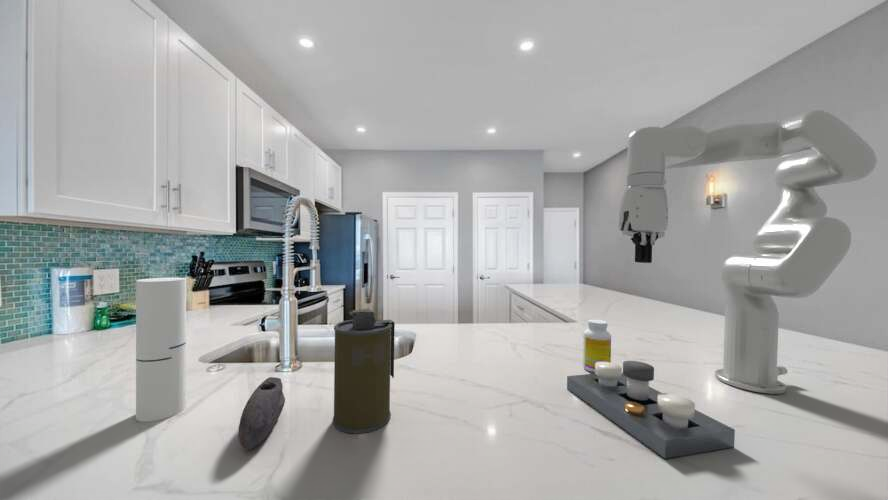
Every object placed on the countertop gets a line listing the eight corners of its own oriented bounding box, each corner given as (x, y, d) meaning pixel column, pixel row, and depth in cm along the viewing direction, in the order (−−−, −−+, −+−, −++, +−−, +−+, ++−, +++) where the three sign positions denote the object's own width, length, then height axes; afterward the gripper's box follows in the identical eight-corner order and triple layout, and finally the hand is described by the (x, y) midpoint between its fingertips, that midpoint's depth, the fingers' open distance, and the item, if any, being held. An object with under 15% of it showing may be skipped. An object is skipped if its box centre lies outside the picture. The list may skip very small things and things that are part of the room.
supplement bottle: (613, 375, 83) (615, 325, 83) (585, 373, 84) (587, 323, 84) (606, 366, 90) (607, 319, 89) (580, 364, 91) (581, 317, 91)
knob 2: (673, 424, 60) (673, 391, 59) (701, 441, 54) (702, 405, 54) (649, 427, 58) (650, 394, 58) (676, 445, 53) (677, 408, 53)
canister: (338, 440, 54) (339, 319, 54) (328, 411, 63) (329, 307, 63) (400, 424, 59) (402, 313, 59) (383, 399, 68) (384, 303, 68)
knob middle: (637, 389, 67) (638, 359, 67) (659, 400, 62) (660, 369, 62) (616, 391, 66) (617, 361, 66) (637, 403, 61) (638, 371, 61)
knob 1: (608, 387, 75) (609, 360, 75) (626, 397, 70) (627, 369, 70) (589, 388, 74) (589, 362, 74) (605, 399, 69) (606, 371, 69)
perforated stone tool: (261, 459, 49) (261, 413, 49) (222, 462, 48) (222, 415, 48) (289, 409, 64) (290, 373, 64) (260, 411, 63) (260, 375, 63)
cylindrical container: (194, 406, 64) (195, 278, 64) (152, 424, 57) (152, 282, 57) (170, 399, 66) (170, 276, 66) (126, 417, 60) (126, 280, 59)
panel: (566, 389, 75) (567, 371, 75) (618, 384, 78) (619, 367, 78) (664, 459, 50) (665, 433, 50) (734, 447, 54) (735, 423, 54)
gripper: (657, 188, 82) (655, 261, 82) (606, 184, 78) (604, 261, 78) (686, 182, 74) (683, 263, 75) (631, 178, 71) (628, 263, 71)
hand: (643, 262), depth 76 cm, fingers closed
